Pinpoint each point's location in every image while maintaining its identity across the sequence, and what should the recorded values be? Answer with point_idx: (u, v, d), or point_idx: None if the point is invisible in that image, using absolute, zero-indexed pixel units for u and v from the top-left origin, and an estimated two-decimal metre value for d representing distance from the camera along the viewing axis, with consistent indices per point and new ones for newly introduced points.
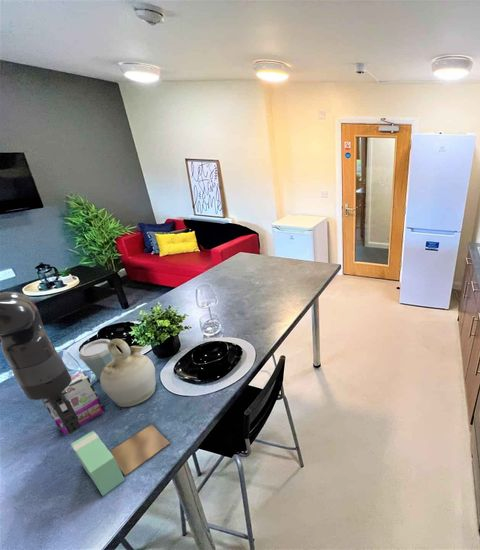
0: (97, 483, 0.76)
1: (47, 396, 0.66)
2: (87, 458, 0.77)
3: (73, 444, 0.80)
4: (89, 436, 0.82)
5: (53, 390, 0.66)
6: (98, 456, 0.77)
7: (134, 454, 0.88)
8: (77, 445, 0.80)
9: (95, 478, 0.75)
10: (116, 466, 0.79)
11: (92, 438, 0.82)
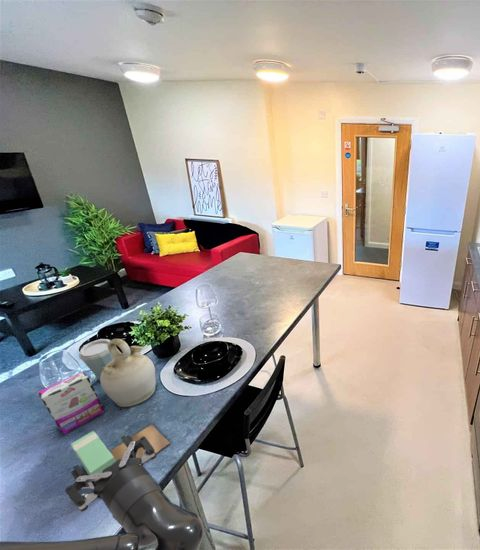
0: None
1: (101, 495, 0.57)
2: (87, 458, 0.77)
3: (73, 444, 0.80)
4: (89, 436, 0.82)
5: None
6: (98, 456, 0.77)
7: None
8: (77, 445, 0.80)
9: None
10: None
11: (92, 438, 0.82)
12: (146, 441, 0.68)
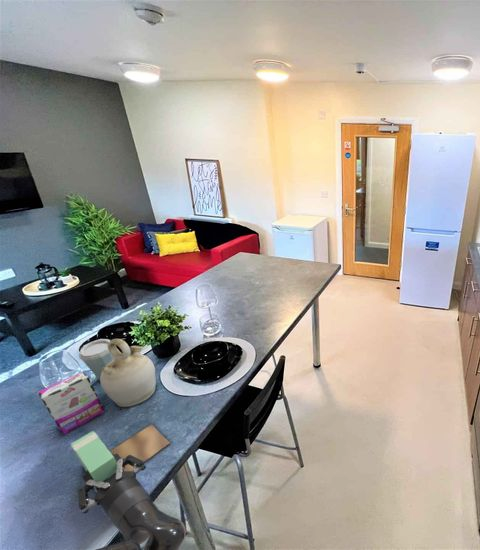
0: None
1: (101, 503, 0.70)
2: (87, 458, 0.77)
3: (73, 444, 0.80)
4: (89, 436, 0.82)
5: (103, 509, 0.70)
6: (98, 456, 0.77)
7: (134, 454, 0.88)
8: (77, 445, 0.80)
9: (95, 478, 0.75)
10: (116, 466, 0.79)
11: (91, 438, 0.82)
12: (133, 457, 0.80)
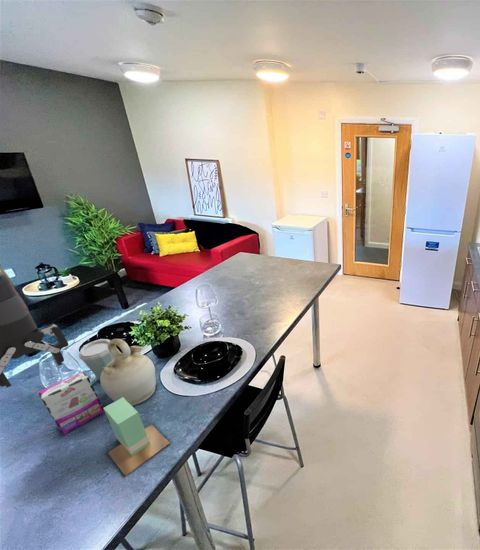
0: (110, 415, 0.84)
1: None
2: None
3: None
4: None
5: None
6: None
7: None
8: None
9: (108, 411, 0.85)
10: (126, 403, 0.88)
11: None
12: None
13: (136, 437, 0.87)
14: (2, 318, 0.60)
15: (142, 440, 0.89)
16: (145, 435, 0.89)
